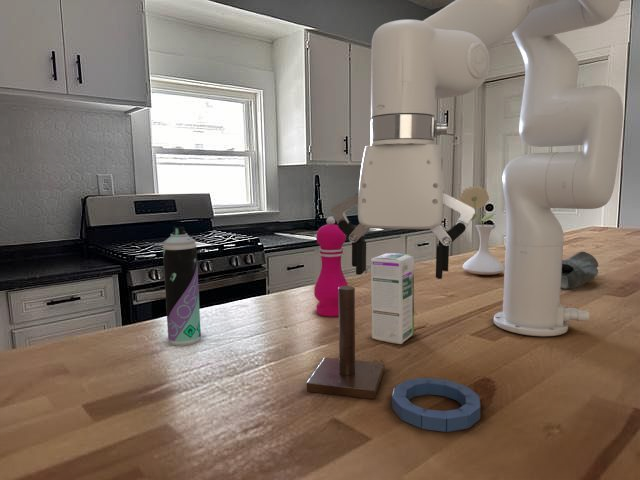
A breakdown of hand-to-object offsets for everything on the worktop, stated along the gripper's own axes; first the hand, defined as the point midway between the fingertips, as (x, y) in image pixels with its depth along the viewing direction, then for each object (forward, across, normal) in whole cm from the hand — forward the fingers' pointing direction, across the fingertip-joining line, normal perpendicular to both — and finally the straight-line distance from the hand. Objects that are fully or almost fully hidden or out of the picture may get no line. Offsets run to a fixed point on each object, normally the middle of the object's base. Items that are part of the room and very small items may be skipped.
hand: (399, 274), depth 58 cm
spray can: (+16, +38, -12) cm, 43 cm away
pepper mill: (+16, +17, -34) cm, 41 cm away
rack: (+16, +7, -3) cm, 18 cm away
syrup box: (+16, +3, -22) cm, 27 cm away
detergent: (+15, -37, -76) cm, 86 cm away
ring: (+16, -5, +2) cm, 17 cm away
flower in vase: (+15, -14, -81) cm, 84 cm away
